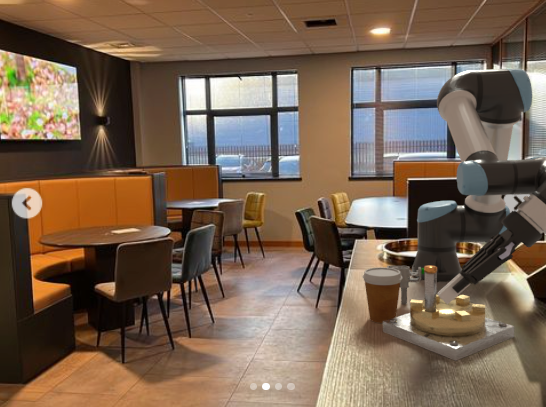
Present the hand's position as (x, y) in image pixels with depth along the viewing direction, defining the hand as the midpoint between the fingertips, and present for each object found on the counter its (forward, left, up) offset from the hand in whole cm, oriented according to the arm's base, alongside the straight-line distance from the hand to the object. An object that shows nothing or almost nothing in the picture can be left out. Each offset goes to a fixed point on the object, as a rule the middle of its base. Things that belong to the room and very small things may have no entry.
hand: (442, 298), depth 112 cm
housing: (-5, -3, -10) cm, 12 cm away
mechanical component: (-14, -24, -10) cm, 29 cm away
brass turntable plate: (-5, -3, -7) cm, 9 cm away
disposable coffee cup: (-1, -19, -10) cm, 21 cm away
